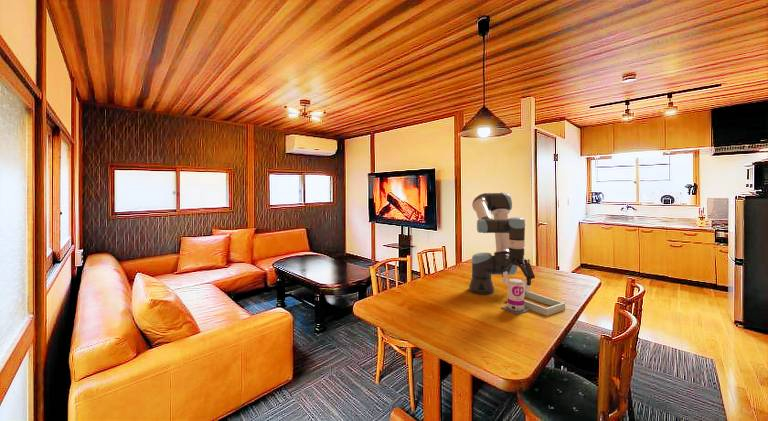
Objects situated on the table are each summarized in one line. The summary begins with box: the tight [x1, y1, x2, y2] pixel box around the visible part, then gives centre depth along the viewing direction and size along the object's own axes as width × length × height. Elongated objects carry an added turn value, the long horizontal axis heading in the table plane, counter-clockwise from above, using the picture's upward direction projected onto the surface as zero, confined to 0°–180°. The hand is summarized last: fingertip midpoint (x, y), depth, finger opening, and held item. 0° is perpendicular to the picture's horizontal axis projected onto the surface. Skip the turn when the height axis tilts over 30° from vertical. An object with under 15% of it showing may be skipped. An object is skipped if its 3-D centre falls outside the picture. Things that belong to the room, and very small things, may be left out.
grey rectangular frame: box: [524, 291, 566, 317], centre depth 165 cm, size 24×15×4 cm, turn 28°
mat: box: [501, 305, 532, 316], centre depth 160 cm, size 10×10×1 cm
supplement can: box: [506, 278, 525, 311], centre depth 159 cm, size 8×8×15 cm
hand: (515, 287), depth 159 cm, fingers open, 13 cm apart
